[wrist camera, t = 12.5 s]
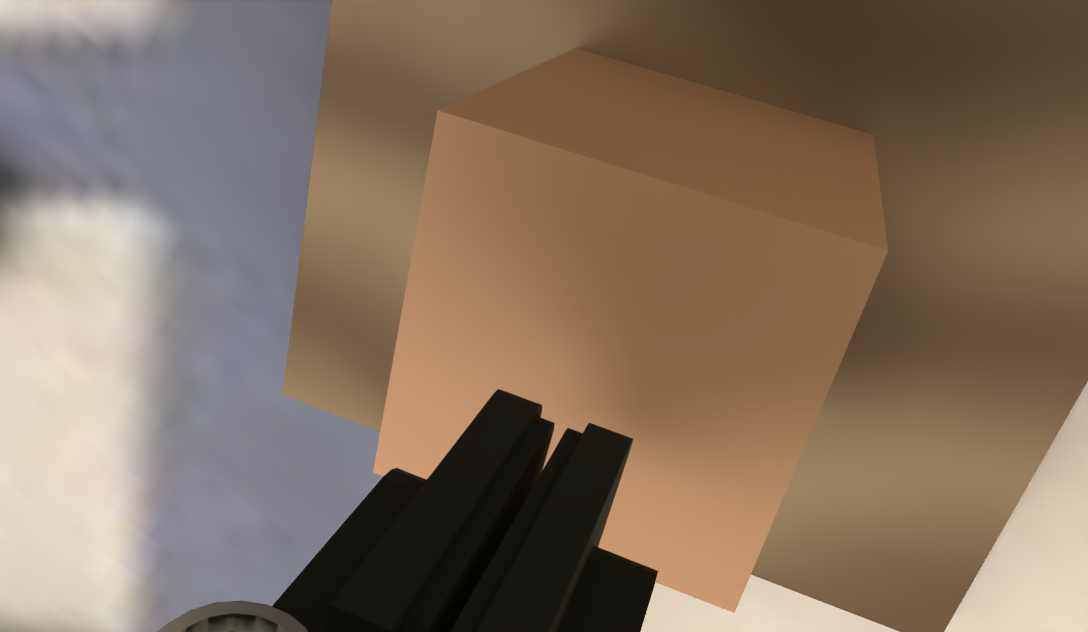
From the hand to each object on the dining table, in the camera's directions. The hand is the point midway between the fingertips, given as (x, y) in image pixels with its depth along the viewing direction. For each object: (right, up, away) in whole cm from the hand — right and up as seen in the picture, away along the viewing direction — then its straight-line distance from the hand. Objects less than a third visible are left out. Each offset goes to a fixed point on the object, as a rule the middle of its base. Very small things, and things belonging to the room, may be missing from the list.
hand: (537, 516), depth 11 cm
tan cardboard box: (+3, +4, +10) cm, 11 cm away
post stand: (+3, +5, +11) cm, 13 cm away
